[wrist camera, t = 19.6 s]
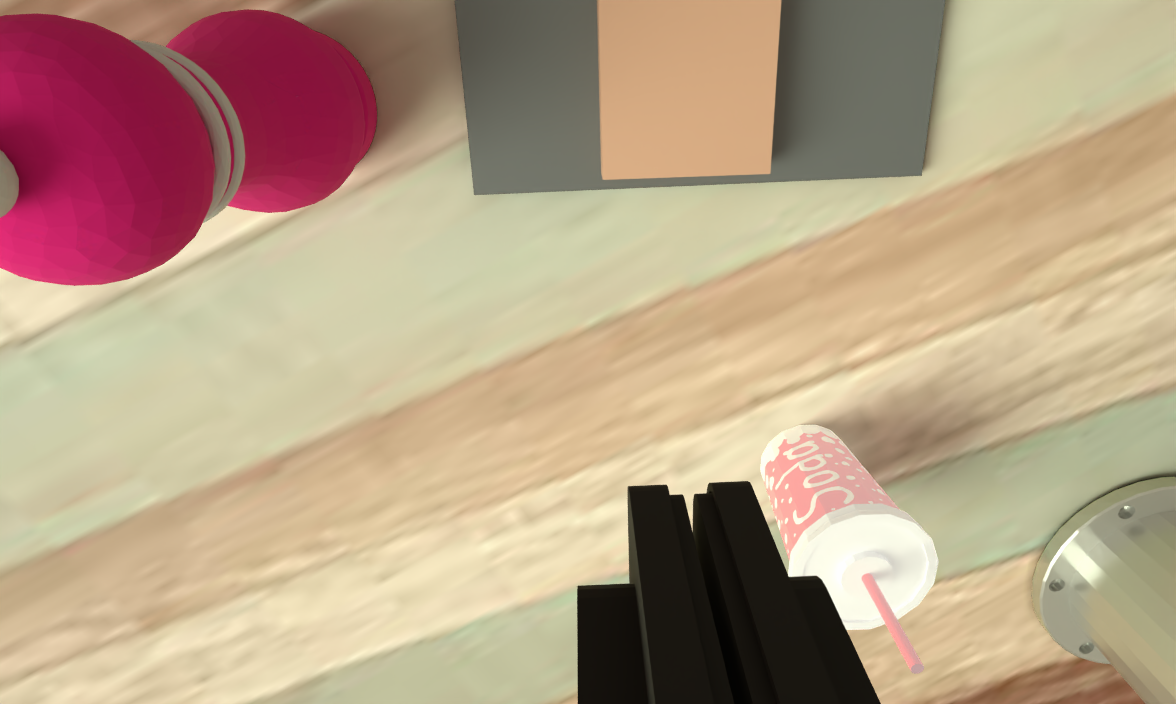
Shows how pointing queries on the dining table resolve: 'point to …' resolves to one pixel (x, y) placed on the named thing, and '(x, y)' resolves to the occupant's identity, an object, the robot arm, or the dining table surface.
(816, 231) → the dining table surface
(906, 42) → the mat
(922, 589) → the beverage cup
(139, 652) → the dining table surface
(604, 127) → the tile
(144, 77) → the pepper mill
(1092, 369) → the dining table surface
